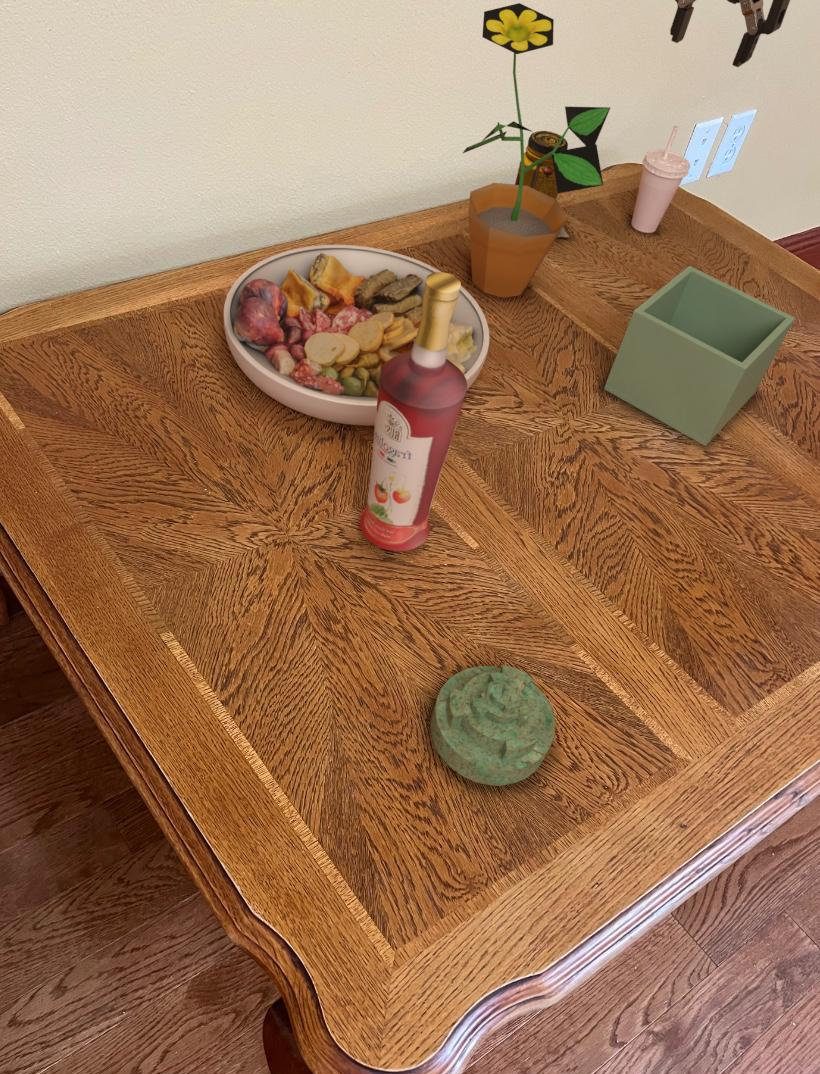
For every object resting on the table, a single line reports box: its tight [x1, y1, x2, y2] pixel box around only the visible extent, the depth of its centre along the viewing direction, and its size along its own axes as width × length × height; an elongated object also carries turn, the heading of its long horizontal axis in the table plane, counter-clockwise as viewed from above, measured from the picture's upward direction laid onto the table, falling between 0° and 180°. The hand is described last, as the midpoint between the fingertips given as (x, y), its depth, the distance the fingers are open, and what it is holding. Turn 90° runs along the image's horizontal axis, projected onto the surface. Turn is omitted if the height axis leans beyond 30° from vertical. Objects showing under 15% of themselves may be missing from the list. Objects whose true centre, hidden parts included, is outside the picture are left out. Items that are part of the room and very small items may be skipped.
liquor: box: [359, 271, 468, 552], centre depth 81 cm, size 7×7×28 cm
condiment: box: [514, 130, 570, 238], centre depth 128 cm, size 7×8×12 cm
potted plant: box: [461, 2, 611, 299], centre depth 111 cm, size 18×19×30 cm
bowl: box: [223, 244, 490, 427], centre depth 106 cm, size 30×30×8 cm
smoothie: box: [630, 125, 691, 234], centre depth 131 cm, size 6×6×14 cm
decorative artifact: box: [429, 664, 556, 787], centre depth 77 cm, size 10×7×10 cm
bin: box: [603, 265, 796, 447], centre depth 108 cm, size 14×14×11 cm
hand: (706, 52), depth 117 cm, fingers open, 8 cm apart
